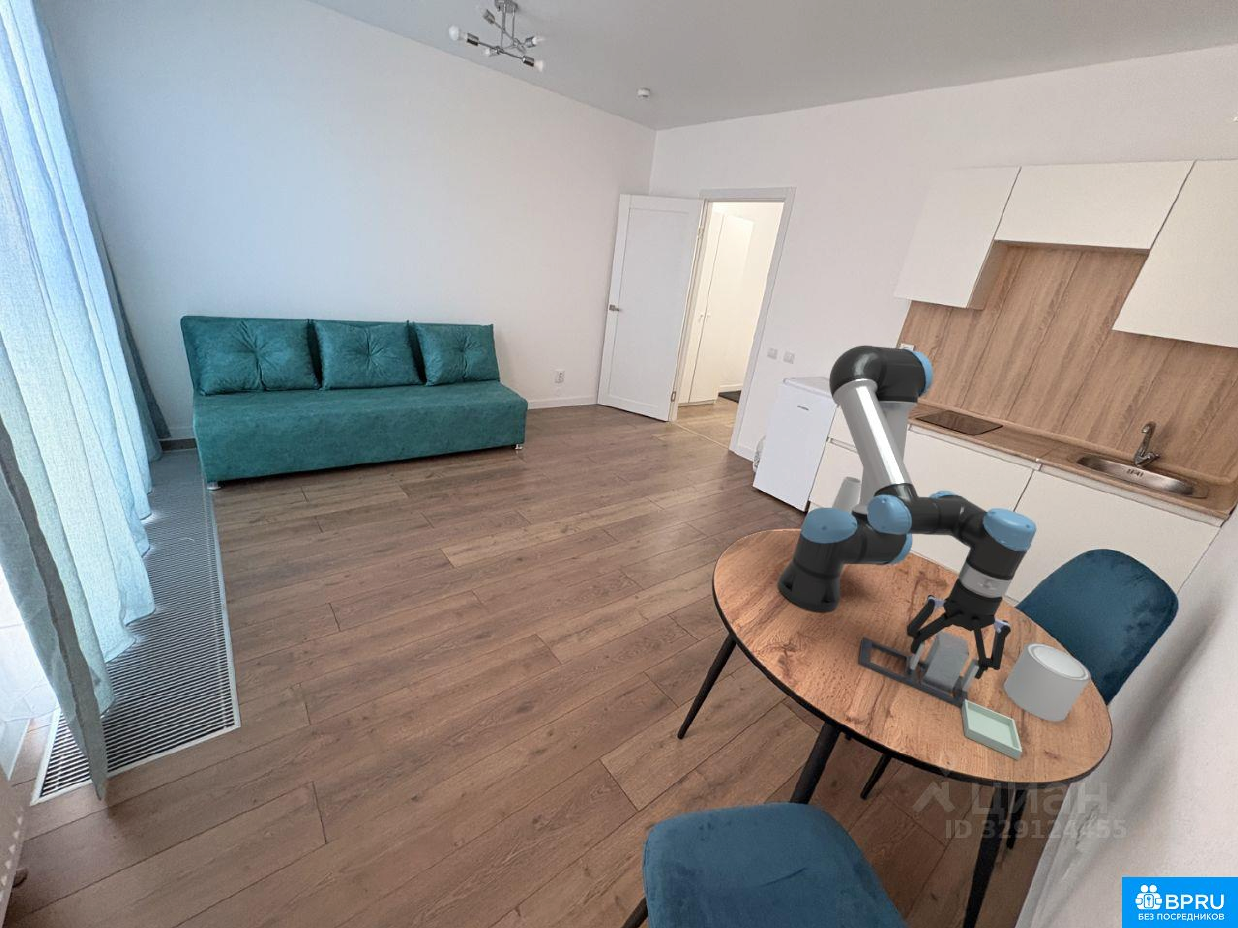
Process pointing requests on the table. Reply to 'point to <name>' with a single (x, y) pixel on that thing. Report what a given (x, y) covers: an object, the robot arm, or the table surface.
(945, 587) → the table surface
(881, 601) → the table surface
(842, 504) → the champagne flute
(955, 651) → the grey rectangular block
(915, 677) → the double window frame
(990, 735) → the tray
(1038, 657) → the mug
